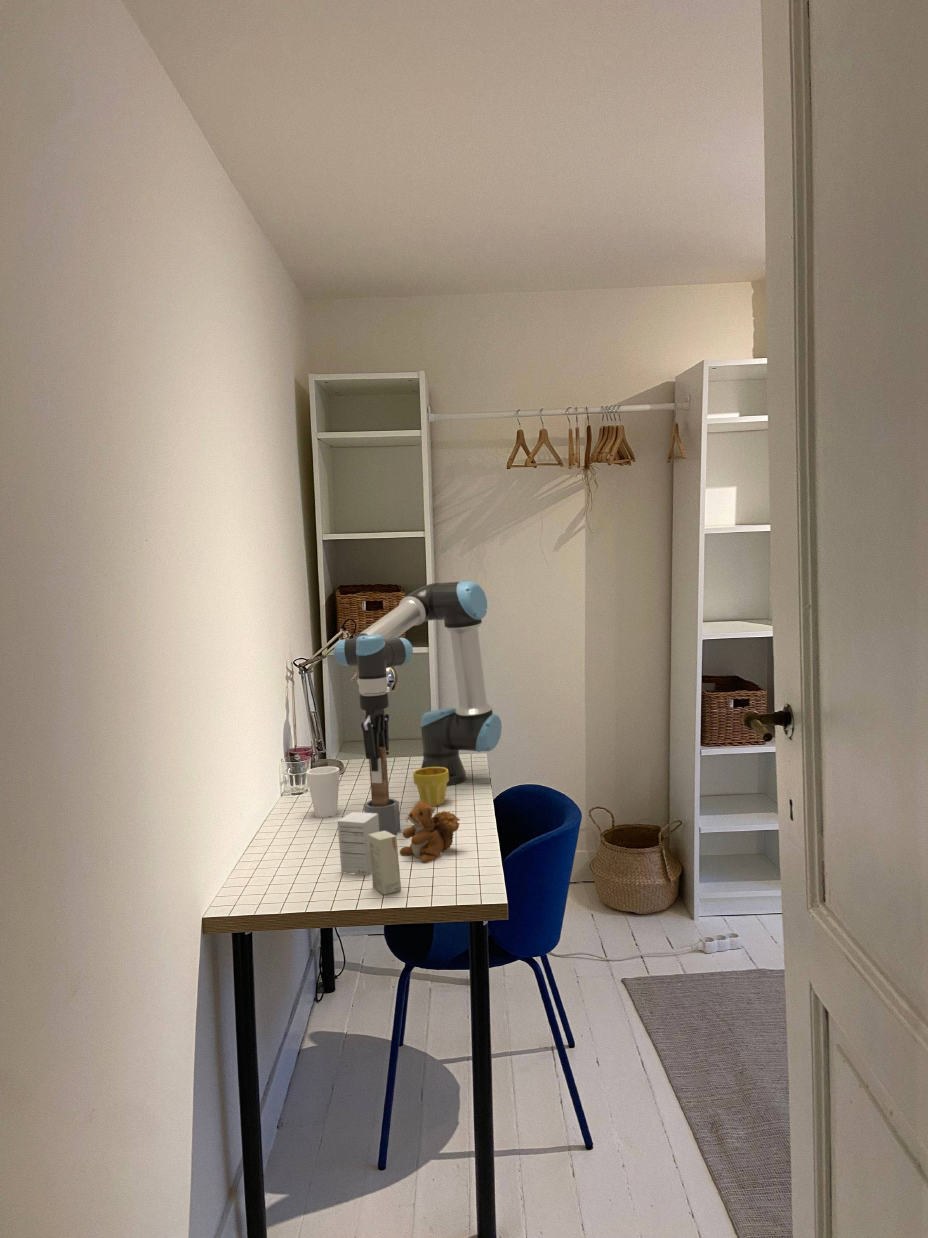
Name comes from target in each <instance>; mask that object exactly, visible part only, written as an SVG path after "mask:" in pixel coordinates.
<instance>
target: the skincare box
mask: <svg viewBox="0 0 928 1238" xmlns="http://www.w3.org/2000/svg"><path fill="white" fill-rule="evenodd" d="M368 836H369V848H370V859H371V871H372V873H371V881H372V888H373V889H374V890H376V891H377V892H379V893H381V894H382V895H389V894H392V893H396V892H399V891H402V886H401V885H402V883H401V875H400V874H401V872H400V862H399V851H398V850H399V849H398V840H397V839H398V838H397V835H394V834H392V833H390V832H387V831H381V832H376V833H372V834H369V835H368Z"/></svg>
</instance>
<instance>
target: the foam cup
mask: <svg viewBox="0 0 928 1238" xmlns="http://www.w3.org/2000/svg"><path fill="white" fill-rule="evenodd" d="M340 772H341V771H340V768H339V767H337V766H318V767H314V768H311V769H308V770H306V781H307V783H308V787H309V793H310V797H311V801H312V807H313V810H314V811H313V812H314V815H315V817H317V818H320V819H323V818H330V817H329V816H332V817H334V816H336V815H337V814H338V807H339V806H338V805H339V804H338V803H339V786H340V777H341V776H340V774H341V773H340Z"/></svg>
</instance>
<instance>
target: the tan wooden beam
mask: <svg viewBox="0 0 928 1238" xmlns="http://www.w3.org/2000/svg"><path fill="white" fill-rule="evenodd" d="M386 752H387V751H386V747H379V758H381V770H382V783H372V778H371V763H370V759H368V763H369V764H368V766H369V776H370V777H369V779H370V793H371V800H372V807H383V806H388V805H390V803H389V799H390V792H389V791H390V790H389V788H390V787H389V774H388V762H387V759H388V757H387V755H386Z"/></svg>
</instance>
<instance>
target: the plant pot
mask: <svg viewBox="0 0 928 1238" xmlns="http://www.w3.org/2000/svg"><path fill="white" fill-rule="evenodd" d="M412 774H413V775H412V776H413V782H414V784H415V786H416V788H417V791H418V795H419V797H420V801H421V802H423V803H426V804H428V805H430V806H431V807H436V806H441V805H443V804H444V803H445V799H446V793H447V786H448V785H447V782H448V781H449V771H448V769H447V768H444V767H427V768H421V767H420V768H418V769H416V770H414V771H413V773H412Z"/></svg>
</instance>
